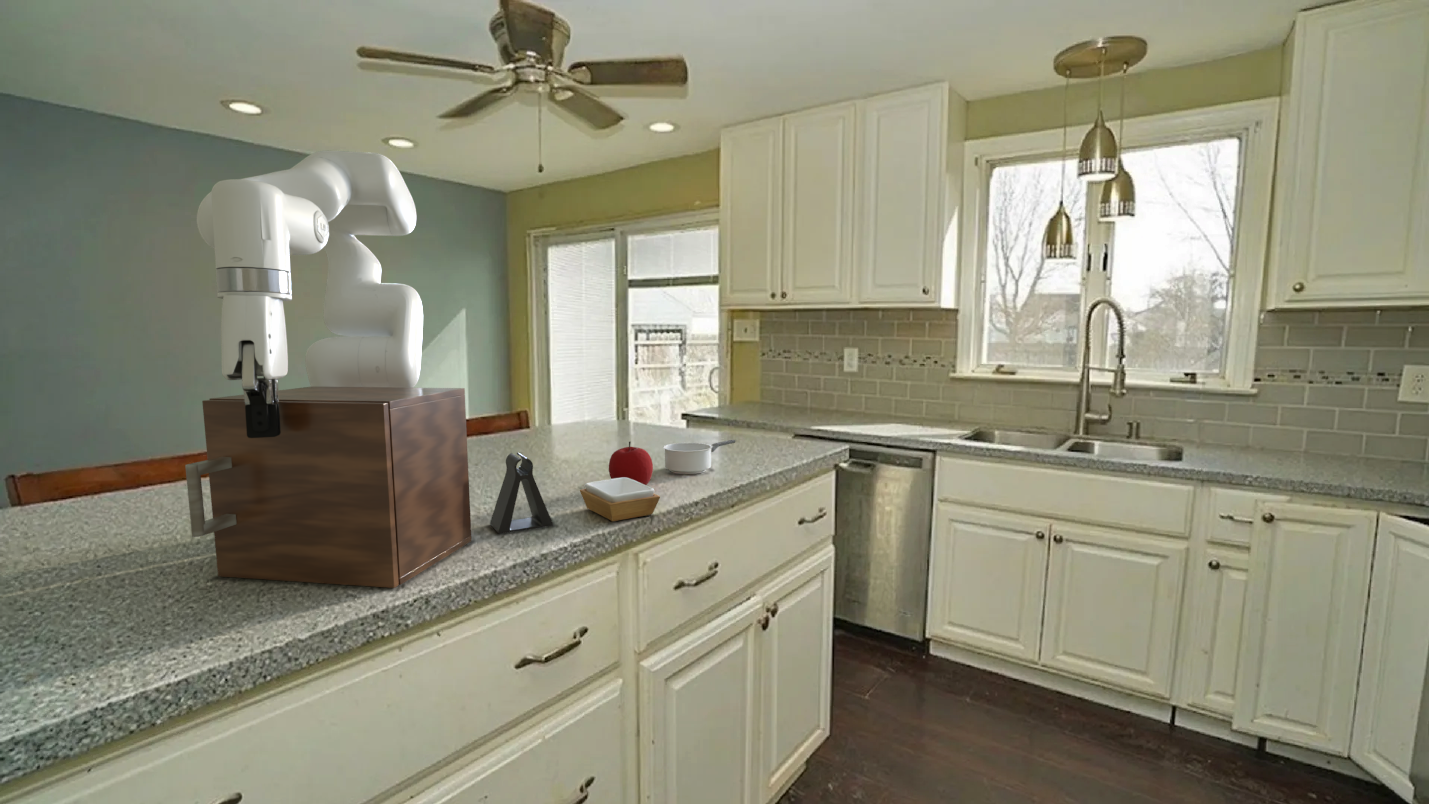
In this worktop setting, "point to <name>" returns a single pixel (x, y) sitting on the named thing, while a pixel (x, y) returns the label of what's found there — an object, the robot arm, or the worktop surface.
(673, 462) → the saucepan
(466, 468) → the cupboard
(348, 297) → the robot arm
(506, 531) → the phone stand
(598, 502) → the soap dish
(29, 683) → the worktop surface
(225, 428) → the cupboard door
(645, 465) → the apple
